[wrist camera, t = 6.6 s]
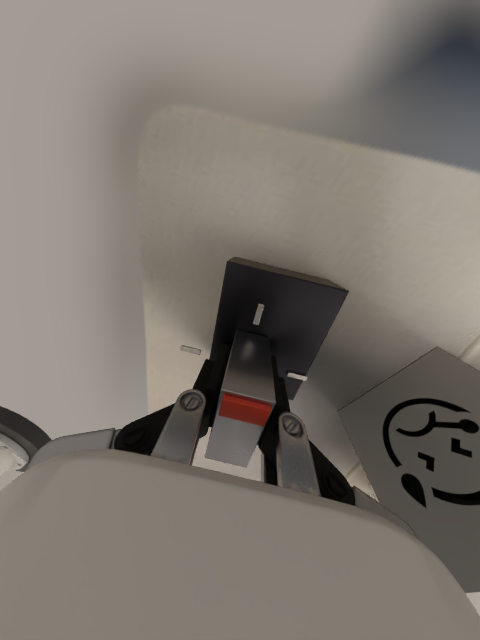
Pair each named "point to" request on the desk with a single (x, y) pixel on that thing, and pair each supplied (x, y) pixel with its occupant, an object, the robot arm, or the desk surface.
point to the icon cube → (427, 456)
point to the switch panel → (276, 314)
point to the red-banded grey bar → (243, 401)
